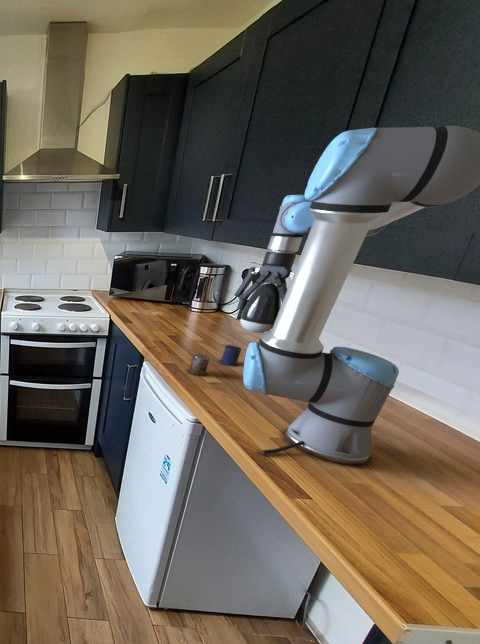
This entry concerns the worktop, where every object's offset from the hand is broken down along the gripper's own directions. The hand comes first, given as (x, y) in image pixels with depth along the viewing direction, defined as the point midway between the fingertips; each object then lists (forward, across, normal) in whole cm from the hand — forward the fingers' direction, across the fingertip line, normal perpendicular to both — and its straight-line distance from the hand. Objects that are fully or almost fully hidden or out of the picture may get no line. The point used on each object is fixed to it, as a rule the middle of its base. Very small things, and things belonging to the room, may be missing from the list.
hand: (257, 323), depth 129 cm
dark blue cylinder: (+18, +8, -8) cm, 21 cm away
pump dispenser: (+3, 0, 0) cm, 3 cm away
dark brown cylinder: (+18, +8, +13) cm, 23 cm away
